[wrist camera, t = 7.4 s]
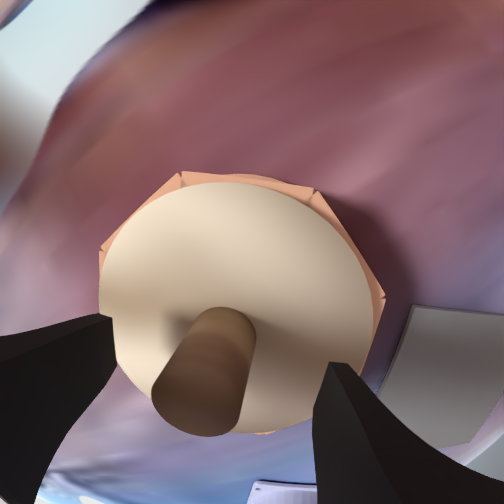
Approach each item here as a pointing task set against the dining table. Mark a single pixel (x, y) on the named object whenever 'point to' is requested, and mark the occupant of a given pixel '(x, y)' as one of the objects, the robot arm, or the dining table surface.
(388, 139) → the dining table surface
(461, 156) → the dining table surface
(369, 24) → the dining table surface
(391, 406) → the mat
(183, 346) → the lid
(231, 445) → the dining table surface
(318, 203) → the octagonal bowl
